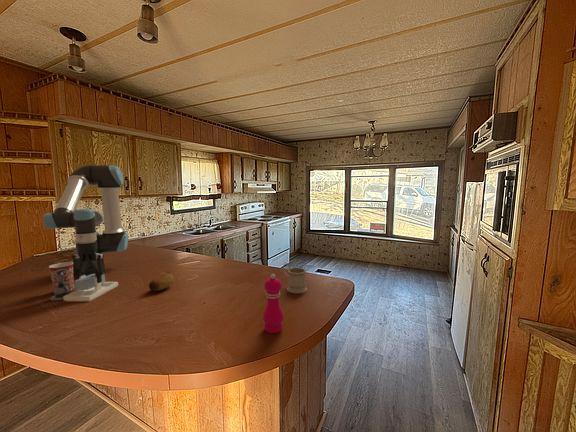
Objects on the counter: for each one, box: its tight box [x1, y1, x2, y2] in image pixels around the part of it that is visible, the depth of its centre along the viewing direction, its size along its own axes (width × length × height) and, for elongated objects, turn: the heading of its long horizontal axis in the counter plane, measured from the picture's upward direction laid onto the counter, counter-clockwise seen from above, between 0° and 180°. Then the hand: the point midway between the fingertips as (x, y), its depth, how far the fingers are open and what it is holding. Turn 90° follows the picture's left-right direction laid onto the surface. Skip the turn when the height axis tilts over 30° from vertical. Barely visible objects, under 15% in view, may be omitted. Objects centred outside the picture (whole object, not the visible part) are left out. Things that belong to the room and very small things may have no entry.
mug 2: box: [282, 262, 308, 294], centre depth 125 cm, size 14×10×12 cm
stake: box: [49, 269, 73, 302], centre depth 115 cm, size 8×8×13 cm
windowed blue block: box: [74, 273, 106, 291], centre depth 120 cm, size 12×6×4 cm, turn 179°
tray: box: [63, 281, 119, 302], centre depth 120 cm, size 18×12×2 cm, turn 179°
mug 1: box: [48, 261, 78, 294], centre depth 123 cm, size 13×9×14 cm
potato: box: [148, 270, 175, 292], centre depth 125 cm, size 8×13×8 cm
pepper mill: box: [262, 273, 284, 334], centre depth 88 cm, size 7×7×20 cm
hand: (91, 289), depth 119 cm, fingers closed on windowed blue block, 6 cm apart
